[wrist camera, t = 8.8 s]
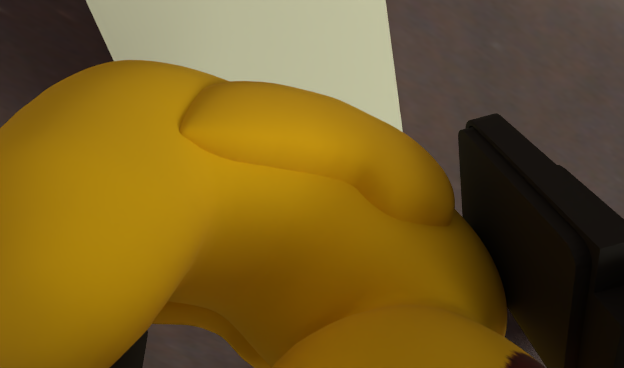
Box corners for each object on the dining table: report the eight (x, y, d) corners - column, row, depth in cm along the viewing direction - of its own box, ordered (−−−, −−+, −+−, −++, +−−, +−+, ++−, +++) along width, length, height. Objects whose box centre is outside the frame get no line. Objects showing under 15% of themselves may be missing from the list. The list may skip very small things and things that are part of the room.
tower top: (341, -108, 20) (371, -103, 16) (375, 109, 26) (405, 154, 21) (105, -45, 20) (75, -23, 16) (191, 159, 25) (185, 214, 21)
